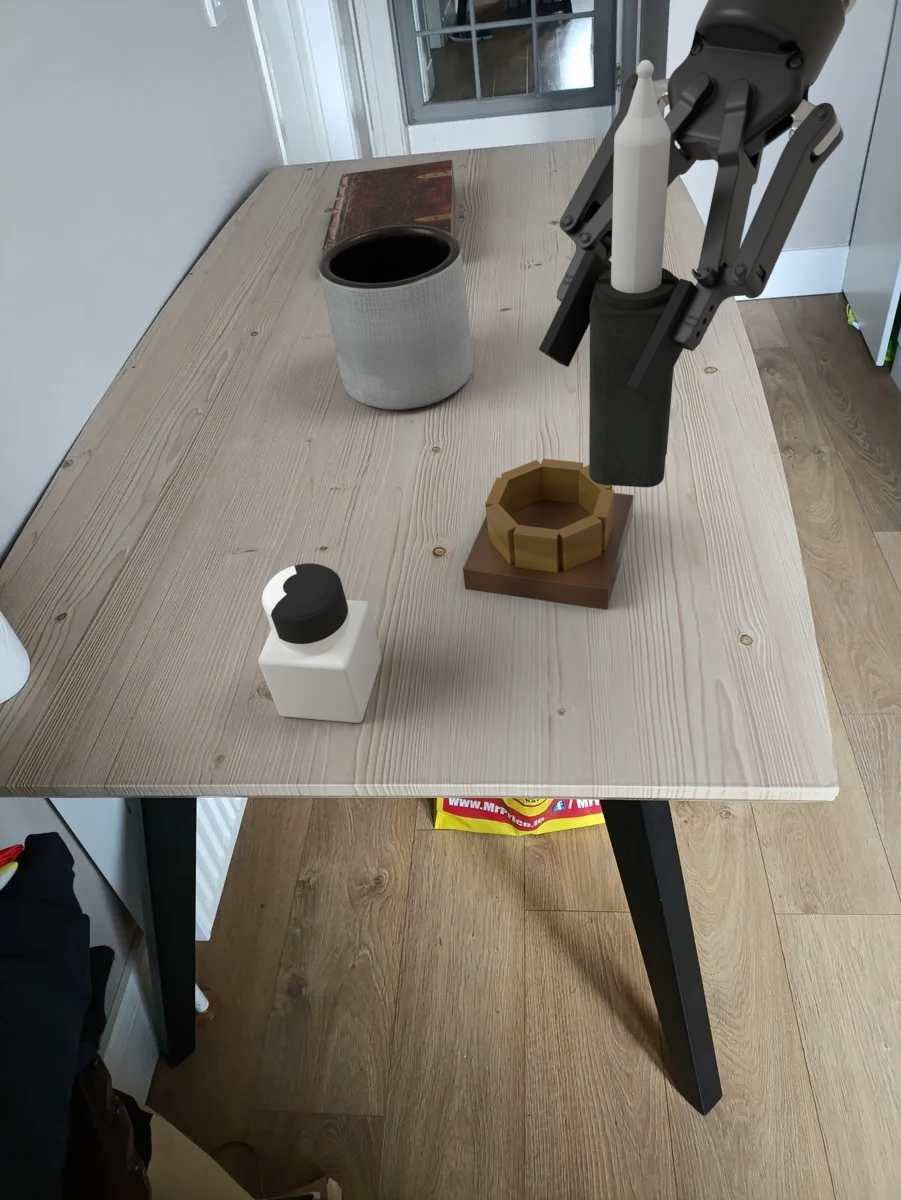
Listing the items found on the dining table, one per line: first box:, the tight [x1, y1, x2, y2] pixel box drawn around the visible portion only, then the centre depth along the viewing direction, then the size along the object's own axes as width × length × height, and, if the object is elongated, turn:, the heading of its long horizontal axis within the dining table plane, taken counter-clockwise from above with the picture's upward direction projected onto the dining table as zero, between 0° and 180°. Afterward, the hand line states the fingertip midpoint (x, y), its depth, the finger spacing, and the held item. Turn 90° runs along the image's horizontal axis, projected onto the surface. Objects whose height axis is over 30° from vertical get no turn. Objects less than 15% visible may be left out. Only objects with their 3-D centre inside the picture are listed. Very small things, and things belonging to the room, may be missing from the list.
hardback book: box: [321, 159, 456, 257], centre depth 136 cm, size 29×19×5 cm, turn 179°
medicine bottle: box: [257, 562, 382, 724], centre depth 69 cm, size 7×7×12 cm
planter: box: [318, 225, 474, 411], centre depth 101 cm, size 16×16×16 cm
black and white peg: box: [588, 59, 680, 488], centre depth 53 cm, size 5×5×25 cm
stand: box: [462, 458, 635, 610], centre depth 80 cm, size 13×13×6 cm
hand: (596, 375), depth 54 cm, fingers closed on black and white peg, 6 cm apart
